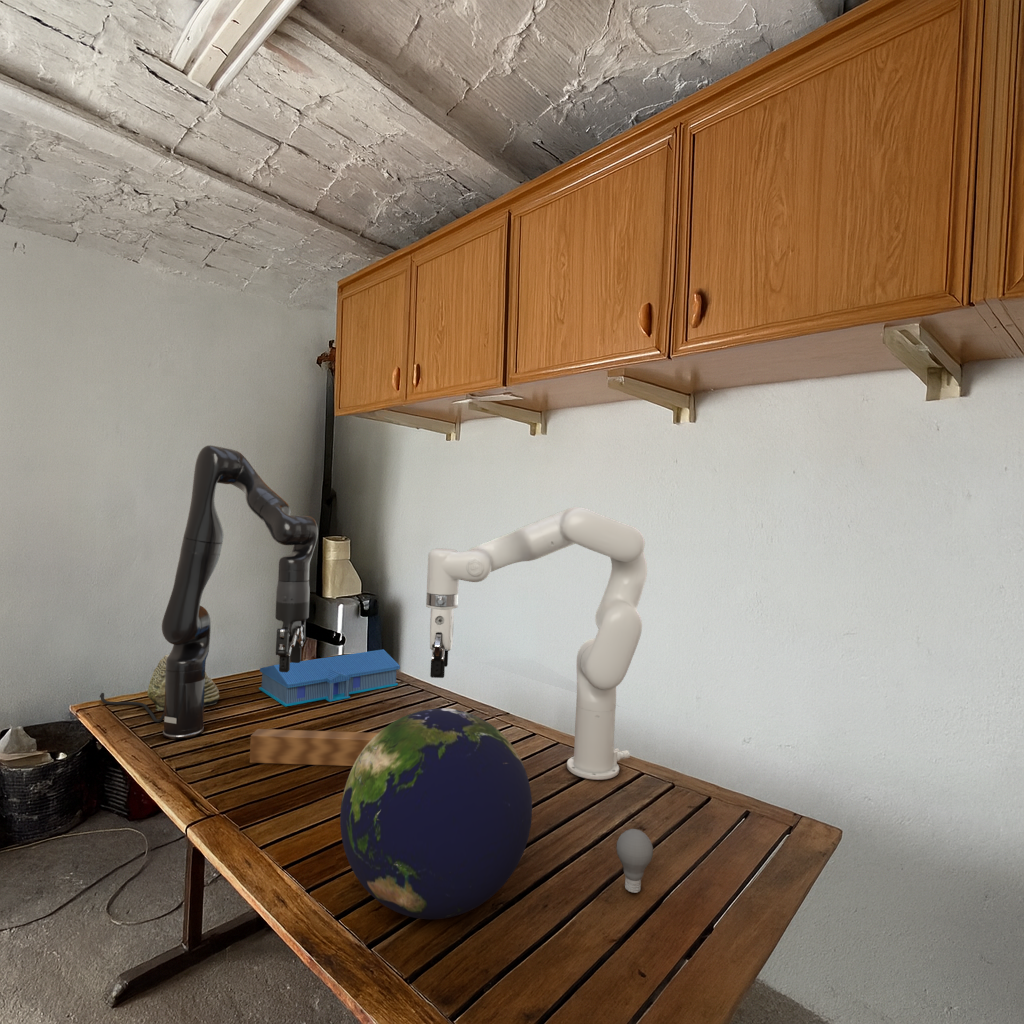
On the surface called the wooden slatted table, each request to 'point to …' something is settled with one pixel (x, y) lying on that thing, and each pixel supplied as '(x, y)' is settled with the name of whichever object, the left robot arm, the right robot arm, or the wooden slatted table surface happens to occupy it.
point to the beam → (307, 747)
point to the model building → (330, 677)
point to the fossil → (158, 687)
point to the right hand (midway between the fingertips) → (439, 671)
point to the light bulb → (634, 857)
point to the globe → (436, 813)
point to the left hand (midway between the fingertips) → (290, 666)
